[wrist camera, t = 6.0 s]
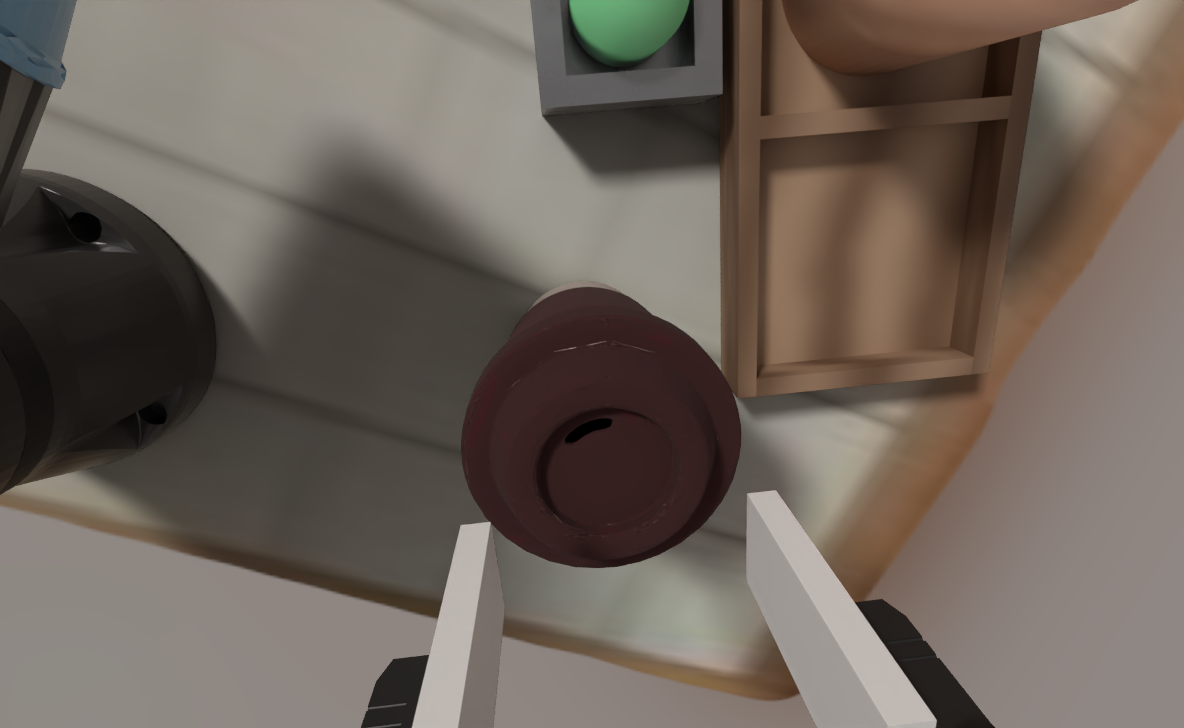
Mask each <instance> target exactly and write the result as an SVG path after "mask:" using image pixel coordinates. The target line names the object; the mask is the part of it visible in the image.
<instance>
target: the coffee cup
mask: <svg viewBox="0 0 1184 728" xmlns="http://www.w3.org/2000/svg"><path fill="white" fill-rule="evenodd" d="M740 447H741V424H740V419H739V413H738V408H737V405H736V401H735V398H734V396H733V393H732V390H731V388H730V386H729V384H728V382H727V380H726V379H725V377H724V375H723V373H722V372H721V370H720V369H719V368H718V366H717V365H716V364H715V363H714V361H713V360H712V359H711V358H710V356H709V355H708V354H707V353H706V352H705V351H704V350H703V349H702V347H701V346H700V345H699V344H698V343H697V342H696V341H695V340H694V339H692V338H691V337H690V336H689V335H687V334H686V333H685V332H684V331H682V330H681V329H679V328H678V327H676V326H675V325H673V324H671V323H669V322H667V321H665V320H663V319H661V318H659V317H656V316H653V315H652V314H651V313H650V312H648V311H647V310H646V309H645V308H644V307H643V306H641V305H640V304H639V303H638V302H636V301H635V300H633V299H631V298H630V297H628V296H626V295H624V294H622V293H621V292H619V291H618V290H616V289H614V288H612V287H610V286H607V285H605V284H601V283H597V282H591V281H577V282H570V283H566V284H563V285H560V286H557V287H555V288H553V289H551V290H549V291H548V292H546V293H545V294H543V295H542V296H541V297H540V298H538V299H537V300H536V301H535V302H534V303H533V305H532V306H531V307H530V308H529V310H528V311H527V313H526V314H525V315H524V316H523V318H522V319H521V320H520V321H519V323H518V324H517V325H516V327H515V329H514V331H513V332H512V334H511V336H510V338H509V341H508V342H507V343H506V344H505V345H504V346H503V347H502V348H501V349H500V350H499V352H498V353H497V354H496V355H495V356H494V357H493V359H492V360H491V361H490V362H489V364H488V365H487V367H486V368H485V369H484V371H483V373H482V375H481V376H480V378H479V380H478V382H477V384H476V386H475V389H474V391H473V394H472V396H471V399H470V402H469V405H468V408H467V412H466V416H465V420H464V424H463V430H462V440H461V453H462V464H463V468H464V473H465V477H466V480H467V483H468V486H469V489H470V491H471V493H472V496H473V498H474V500H475V501H476V503H477V504H478V506H479V507H480V509H481V511H482V512H483V514H484V515H485V517H486V518H487V519H488V520H489V521H490V522H491V523H492V525H493V526H494V527H495V528H496V529H497V530H498V531H500V532H501V533H502V534H503V535H504V536H505V537H506V538H507V539H509V540H510V541H512V542H513V543H515V544H516V545H518V546H519V547H521V548H522V549H524V550H525V551H527V552H530V553H532V554H534V555H537V556H539V557H541V558H544V559H546V560H548V561H551V562H556V563H560V564H565V565H569V566H573V567H586V568H606V567H618V566H623V565H627V564H632V563H636V562H640V561H643V560H646V559H648V558H651V557H654V556H657V555H659V554H661V553H663V552H665V551H667V550H668V549H670V548H672V547H674V546H676V545H678V544H679V543H681V542H682V541H684V540H685V539H686V538H687V537H689V536H690V535H691V534H692V533H694V532H695V531H696V530H697V529H699V528H700V527H701V526H702V525H703V524H704V523H705V522H706V521H707V520H708V518H709V517H710V516H711V515H712V514H713V512H714V511H715V509H716V508H717V507H718V505H719V504H720V503H721V501H722V500H723V498H724V496H725V495H726V493H727V491H728V489H729V487H730V484H731V482H732V480H733V478H734V474H735V471H736V467H737V463H738V459H739V454H740Z"/></svg>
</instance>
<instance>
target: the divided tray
mask: <svg viewBox="0 0 1184 728" xmlns="http://www.w3.org/2000/svg"><path fill="white" fill-rule="evenodd" d="M1041 35H1042V31H1038V32H1034V33H1030V34H1027V35H1023V36H1019V37H1016V38H1012V39H1008V40H1005V41H1001V42H997V43H994V44H990V45H986V46H983V47H979V48H975V49H972V50H968V51H964V52H960V53H957V54H953V55H949V56H946V57H942V58H938V59H935V60H931V61H927V62H924V63H920V64H916V65H913V66H909V67H905V68H901V69H898V70H894V71H890V72H887V73H883V74H879V75H873V76H850V75H844V74H840V73H837V72H834V71H832V70H830V69H828V68H826V67H824V66H822V65H821V64H819V63H818V62H816V61H815V60H814V59H812V58H811V57H810V56H809V55H808V54H807V53H806V52H805V51H804V49H803V48H802V47H801V46H800V44H799V43H798V42H797V40H796V38H795V37H794V35H793V33H792V31H791V29H790V27H789V25H788V22H787V20H786V17H785V13H784V9H783V6H782V0H722V76H723V94H721V95H720V247H721V372H722V373H723V375H724V377H725V379H726V380H727V382H728V384H729V386H730V388H731V390H732V392H733V393H734V394H735V395H736V397H737V398H747V397H757V396H766V395H776V394H786V393H796V392H805V391H815V390H825V389H835V388H844V387H854V386H864V385H874V384H883V383H893V382H903V381H913V380H922V379H932V378H942V377H952V376H961V375H971V374H981V373H989V367H990V361H991V354H992V348H993V342H994V335H995V329H996V322H997V316H998V310H999V303H1000V297H1001V291H1002V284H1003V278H1004V271H1005V265H1006V259H1007V252H1008V246H1009V239H1010V233H1011V227H1012V220H1013V214H1014V207H1015V201H1016V195H1017V188H1018V182H1019V175H1020V169H1021V163H1022V156H1023V150H1024V143H1025V137H1026V131H1027V124H1028V118H1029V111H1030V105H1031V99H1032V92H1033V86H1034V79H1035V73H1036V67H1037V60H1038V54H1039V47H1040V41H1041Z"/></svg>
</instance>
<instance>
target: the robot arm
mask: <svg viewBox="0 0 1184 728" xmlns="http://www.w3.org/2000/svg"><path fill="white" fill-rule="evenodd" d="M76 1H77V0H0V495H1V494H2V493H4V492H6V491H7V490H9V489H11V488H13V487H14V486H17V485H22V484H26V483H30V482H34V481H38V480H42V479H46V478H50V477H54V476H58V475H62V474H66V473H71V472H75V471H79V470H83V469H87V468H91V467H95V466H99V465H103V464H107V463H110V462H114V461H117V460H120V459H122V458H125V457H127V456H129V455H132V454H134V453H136V452H138V451H140V450H142V449H144V448H146V447H147V446H149V445H150V444H152V443H153V442H155V441H156V440H158V439H159V438H161V437H162V436H163V435H165V434H166V433H168V432H169V431H171V430H172V429H173V428H175V427H176V426H178V425H179V424H180V423H181V422H182V421H184V420H185V419H186V418H187V417H188V416H189V415H190V414H191V412H192V411H193V410H194V409H195V408H196V406H197V405H198V404H199V402H200V401H201V399H202V397H203V396H204V394H205V392H206V390H207V387H208V385H209V383H210V380H211V377H212V373H213V369H214V364H215V358H216V334H215V326H214V320H213V316H212V312H211V308H210V305H209V302H208V299H207V296H206V294H205V292H204V289H203V287H202V285H201V283H200V281H199V279H198V277H197V275H196V274H195V272H194V270H193V269H192V267H191V265H190V264H189V263H188V261H187V260H186V258H185V257H184V255H183V254H182V253H181V252H180V250H179V249H178V248H177V246H176V245H175V244H174V243H173V242H172V241H171V240H170V239H169V237H168V236H167V235H166V234H165V233H164V232H163V231H162V230H161V229H160V228H159V227H157V226H156V225H155V224H154V223H153V222H152V221H151V220H149V219H148V218H147V217H146V216H144V215H143V214H142V213H141V212H139V211H138V210H136V209H135V208H134V207H132V206H131V205H129V204H128V203H126V202H125V201H123V200H121V199H120V198H118V197H116V196H114V195H113V194H111V193H109V192H107V191H105V190H103V189H101V188H98V187H96V186H94V185H92V184H89V183H87V182H84V181H81V180H79V179H75V178H72V177H69V176H66V175H61V174H57V173H53V172H47V171H41V170H32V169H22V168H23V165H24V163H25V160H26V157H27V155H28V152H29V149H30V147H31V144H32V142H33V139H34V136H35V134H36V131H37V128H38V126H39V123H40V121H41V118H42V115H43V113H44V110H45V108H46V105H47V102H48V100H49V97H50V94H51V92H52V89H53V88H56V89H61V87H62V85H63V83H64V81H65V76H66V69H65V67H64V65H63V64H62V61H61V60H62V56H63V52H64V48H65V44H66V40H67V36H68V32H69V28H70V25H71V21H72V17H73V13H74V9H75V5H76ZM746 581H747V583H748V585H749V587H750V589H751V591H752V593H753V595H754V597H755V599H756V601H757V604H758V606H759V608H760V610H761V612H762V614H763V616H764V618H765V620H766V622H767V625H768V627H769V629H770V631H771V633H772V635H773V637H774V639H775V641H776V643H777V645H778V648H779V650H780V652H781V654H782V656H783V658H784V660H785V662H786V664H787V666H788V668H789V671H790V673H791V675H792V677H793V679H794V681H795V683H796V685H797V687H798V689H799V692H800V694H801V696H802V698H803V700H804V702H805V704H806V706H807V708H808V710H809V712H810V714H811V717H812V719H813V720H814V723H815V725H816V727H817V728H995V727H994V726H993V725H992V724H991V723H990V722H989V720H988V719H987V718H986V717H985V715H984V714H983V713H982V712H981V710H980V709H979V708H978V706H977V705H976V704H975V703H974V701H973V700H972V699H971V698H970V696H969V695H968V694H967V693H966V691H965V690H964V689H963V688H962V686H961V685H960V684H959V683H958V681H957V680H956V679H955V678H954V676H953V675H952V674H951V673H950V671H949V670H948V669H947V667H946V666H945V665H944V664H943V662H942V661H941V660H940V659H939V658H937V657H936V654H935V652H934V651H933V650H932V648H931V647H930V646H929V645H928V643H927V642H926V641H923V639H922V636H921V635H920V633H919V632H918V631H917V630H916V628H915V627H914V626H913V625H912V623H911V622H910V621H909V619H908V618H907V617H906V616H905V615H904V614H902V613H901V612H899V611H898V610H897V609H895V608H894V607H892V606H891V605H890V604H888V603H887V602H885V601H884V600H883V599H879V600H872V601H862V602H854V601H853V600H852V598H851V597H850V595H849V594H848V593H847V591H846V590H845V588H844V587H843V585H842V584H841V583H840V581H839V580H838V578H837V577H836V575H835V574H834V573H833V571H832V570H831V568H830V567H829V565H828V564H827V563H826V561H825V560H824V558H823V557H822V555H821V554H820V553H819V551H818V550H817V548H816V547H815V545H814V544H813V543H812V541H811V540H810V538H809V537H808V535H807V534H806V533H805V531H804V530H803V528H802V527H801V525H800V524H799V523H798V521H797V520H796V518H795V517H794V515H793V514H792V513H791V511H790V510H789V508H788V507H787V505H786V504H785V503H784V501H783V500H782V498H781V497H780V495H779V494H778V493H777V491H776V490H774V491H765V492H755V493H747V552H746ZM504 612H505V606H504V600H503V594H502V588H501V581H500V575H499V569H498V563H497V557H496V551H495V545H494V538H493V532H492V526H491V522H485V523H476V524H467V525H461V526H460V530H459V534H458V539H457V543H456V547H455V551H454V555H453V559H452V563H451V568H450V572H449V576H448V580H447V584H446V588H445V592H444V597H443V601H442V605H441V609H440V613H439V617H438V621H437V626H436V630H435V634H434V638H433V642H432V646H431V650H430V655H424V656H417V657H408V658H399V659H393V661H392V662H391V663H390V664H389V666H388V667H387V668H386V670H385V671H384V672H383V673H382V675H381V676H380V677H379V679H378V680H377V681H376V684H375V687H374V690H373V693H372V696H371V699H370V702H369V705H368V711H367V712H366V714H365V717H364V720H363V723H362V726H361V728H493V725H494V715H495V705H496V694H497V684H498V673H499V664H500V653H501V643H502V633H503V622H504Z"/></svg>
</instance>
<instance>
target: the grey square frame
mask: <svg viewBox="0 0 1184 728" xmlns="http://www.w3.org/2000/svg"><path fill="white" fill-rule="evenodd" d="M531 10H532V20H533V30H534V40H535V50H536V60H537V70H538V80H539V90H540V100H541V110H542V116H545V115H558V114H570V113H583V112H595V111H607V110H620V109H632V108H644V107H657V106H669V105H682V104H694V103H701V102H704V101H706V100H709V99H711V98H714V97H716V96H719V95H721V94H723V76H722V0H689V5H688V8H687V11H686V14H685V17H684V19H683V21H682V23H681V25H680V26H679V28H678V29H677V31H676V32H675V33H674V34H673V36H672V37H671V38H670V39H669V40H668V41H667V42H666V43H665V44H664V45H663V46H662V47H661V48H660V49H659V50H658V51H657V52H656V53H655V54H654V55H653V56H652V57H650V58H649V59H647V60H646V61H644V62H642V63H640V64H637V65H634V66H629V67H614V66H609V65H606V64H603V63H601V62H599V61H597V60H596V59H594V58H593V57H591V56H590V55H589V54H588V53H587V52H586V51H585V50H584V49H583V48H582V46H581V45H580V44H579V42H578V41H577V39H576V37H575V35H574V33H573V30H572V28H571V24H570V20H569V14H568V0H531Z"/></svg>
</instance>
